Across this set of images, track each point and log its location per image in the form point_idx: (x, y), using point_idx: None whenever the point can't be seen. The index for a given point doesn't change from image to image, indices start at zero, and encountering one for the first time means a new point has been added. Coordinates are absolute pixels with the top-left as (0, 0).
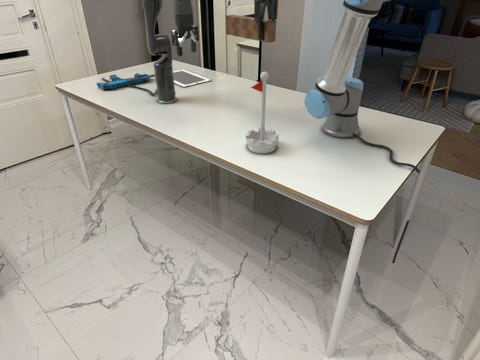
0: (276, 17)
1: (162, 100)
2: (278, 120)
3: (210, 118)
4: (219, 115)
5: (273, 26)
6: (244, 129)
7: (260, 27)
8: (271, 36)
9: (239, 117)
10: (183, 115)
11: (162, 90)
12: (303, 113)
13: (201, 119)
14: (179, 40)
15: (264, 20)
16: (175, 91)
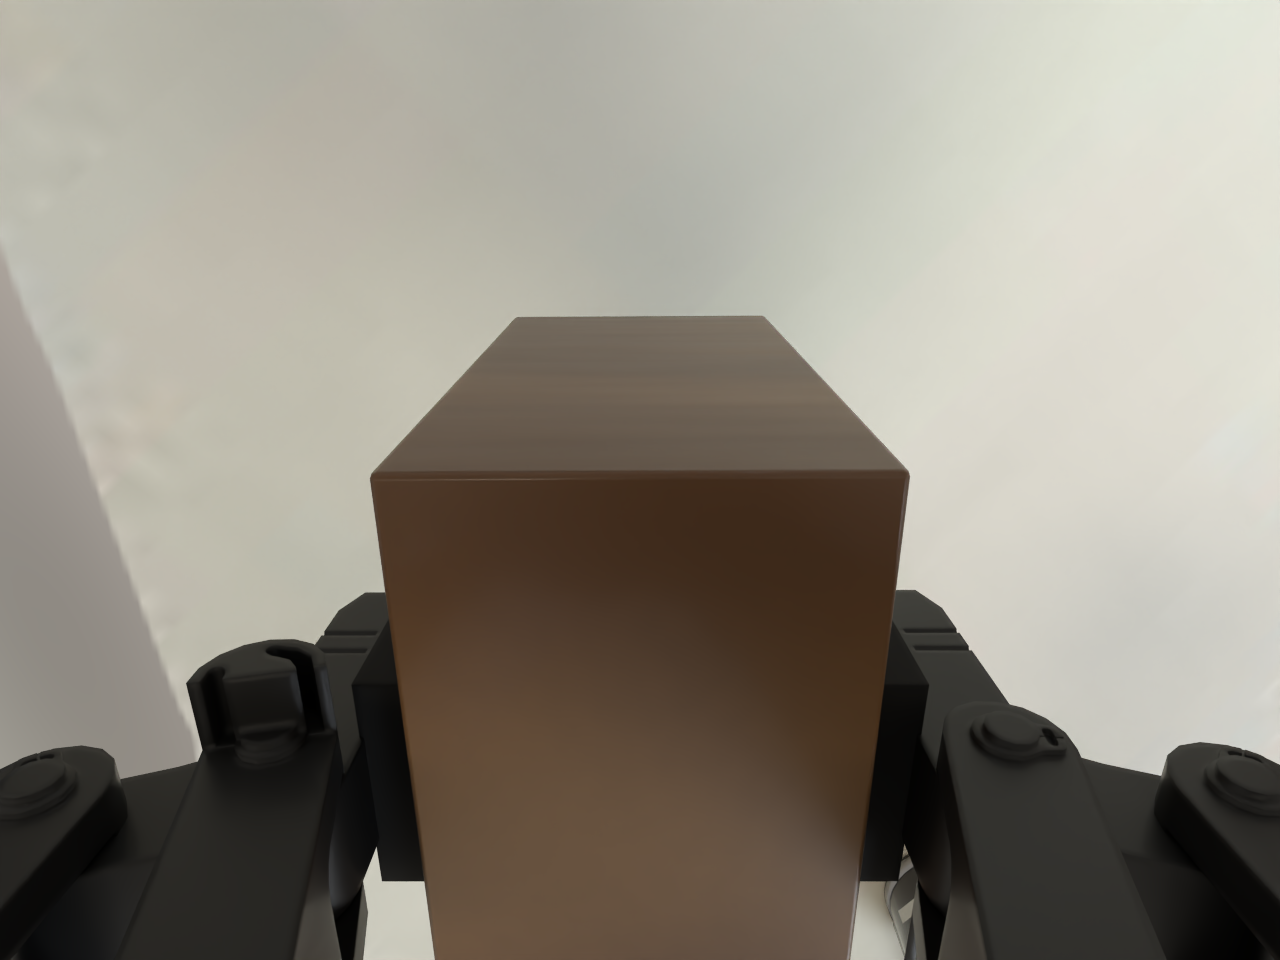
0: (9, 803)
1: None
2: (668, 72)
3: (994, 485)
4: (909, 483)
5: (588, 405)
6: (998, 150)
7: (965, 656)
8: (665, 340)
9: (840, 352)
10: (1067, 644)
11: None
12: (378, 11)
13: (1047, 514)
14: None
15: (692, 871)
16: (907, 917)
